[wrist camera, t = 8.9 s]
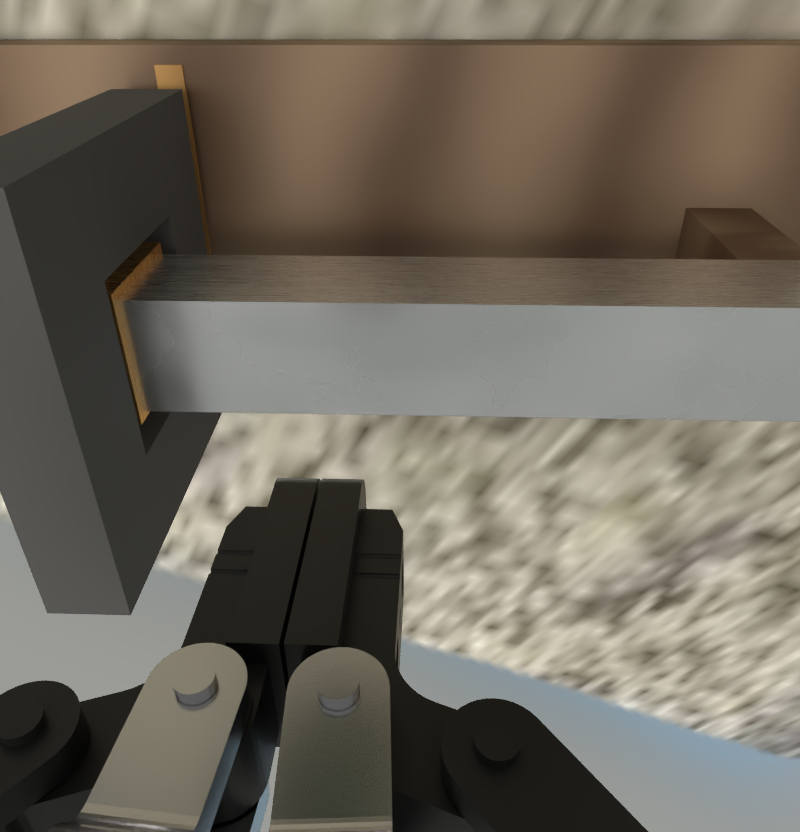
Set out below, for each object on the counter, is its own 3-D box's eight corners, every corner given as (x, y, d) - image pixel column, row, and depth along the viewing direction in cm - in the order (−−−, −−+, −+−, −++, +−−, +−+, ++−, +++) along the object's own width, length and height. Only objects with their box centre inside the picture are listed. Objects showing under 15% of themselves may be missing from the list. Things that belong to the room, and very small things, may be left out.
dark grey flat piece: (181, 89, 20) (3, 187, 12) (229, 396, 25) (130, 615, 17) (111, 88, 20) (-118, 186, 12) (173, 395, 25) (47, 612, 17)
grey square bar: (835, 247, 19) (912, 303, 16) (795, 367, 20) (857, 436, 17) (-77, 239, 19) (-168, 291, 16) (-34, 355, 21) (-109, 420, 18)
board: (859, 40, 21) (994, 67, 16) (751, 392, 27) (824, 491, 22) (-16, 39, 22) (-149, 65, 17) (81, 382, 28) (5, 476, 23)
